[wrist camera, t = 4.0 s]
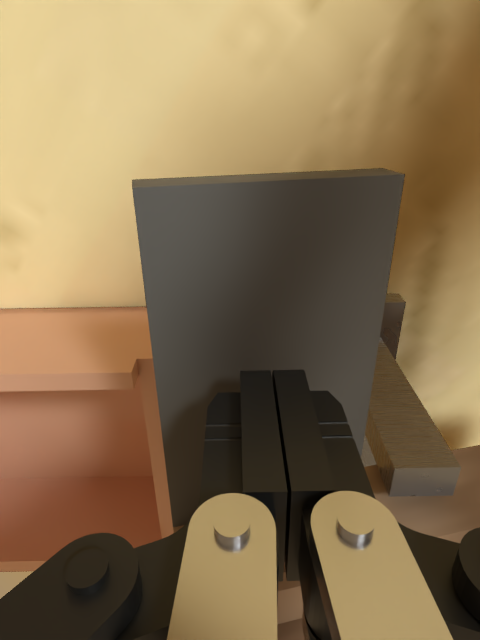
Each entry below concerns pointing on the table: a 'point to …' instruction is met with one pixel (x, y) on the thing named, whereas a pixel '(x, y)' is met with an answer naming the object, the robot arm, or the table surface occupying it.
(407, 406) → the lever stand
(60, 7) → the table surface
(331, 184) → the lever trough
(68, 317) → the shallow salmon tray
